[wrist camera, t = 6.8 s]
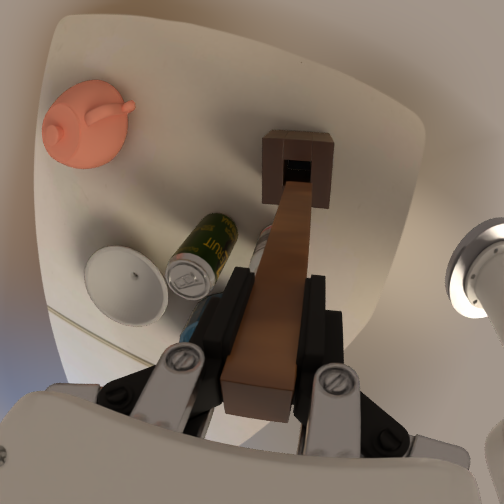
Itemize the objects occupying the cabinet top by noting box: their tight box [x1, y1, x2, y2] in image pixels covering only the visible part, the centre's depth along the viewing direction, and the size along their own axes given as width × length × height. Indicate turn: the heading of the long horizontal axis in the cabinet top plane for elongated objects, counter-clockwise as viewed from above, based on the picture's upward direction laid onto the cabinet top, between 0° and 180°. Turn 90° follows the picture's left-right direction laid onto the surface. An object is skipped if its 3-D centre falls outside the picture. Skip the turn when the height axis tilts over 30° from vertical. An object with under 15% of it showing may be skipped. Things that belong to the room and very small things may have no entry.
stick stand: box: [262, 130, 334, 209], centre depth 30 cm, size 7×7×7 cm
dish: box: [84, 245, 168, 327], centre depth 45 cm, size 18×14×5 cm
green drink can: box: [165, 213, 238, 300], centre depth 35 cm, size 5×5×12 cm
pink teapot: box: [42, 80, 135, 169], centre depth 30 cm, size 12×14×10 cm
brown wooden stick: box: [220, 181, 312, 423], centre depth 15 cm, size 2×2×18 cm
